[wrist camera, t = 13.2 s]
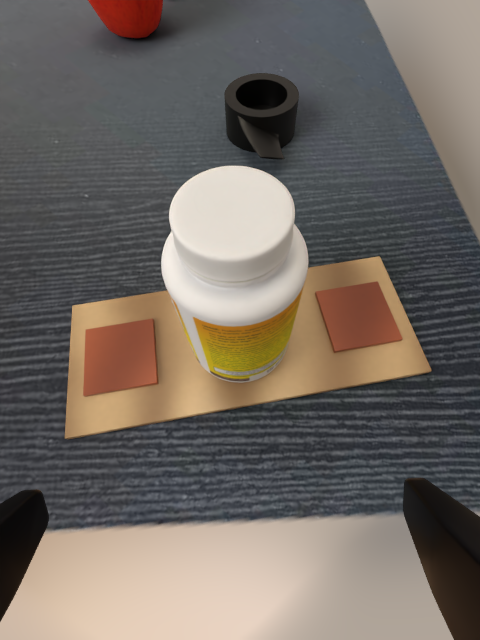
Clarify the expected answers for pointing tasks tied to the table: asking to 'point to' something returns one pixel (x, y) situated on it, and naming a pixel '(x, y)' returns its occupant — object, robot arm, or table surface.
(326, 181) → the table surface
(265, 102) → the black hollow round piece
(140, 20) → the apple
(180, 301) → the supplement bottle
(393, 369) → the wood board
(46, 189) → the table surface
